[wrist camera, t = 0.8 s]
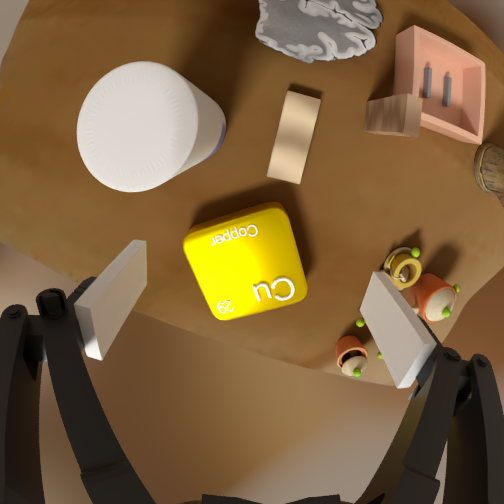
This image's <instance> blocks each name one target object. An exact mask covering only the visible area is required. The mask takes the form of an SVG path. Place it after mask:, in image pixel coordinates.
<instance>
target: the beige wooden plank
mask: <svg viewBox="0 0 504 504" xmlns="http://www.w3.org/2000/svg"><path fill="white" fill-rule="evenodd" d="M320 102H321V100H320V99H316V98H313V97H310V96H306V95H303V94H299V93H295V92H291V91H287V92H286V96H285V100H284V104H283V108H282V113H281V117H280V121H279V125H278V129H277V133H276V137H275V141H274V145H273V149H272V154H271V158H270V162H269V166H268V170H267V174H266V175H267V176H268V177H272V178H277V179H281V180H285V181H289V182H293V183H297V184H300V181H301V177H302V173H303V169H304V165H305V161H306V158H307V154H308V150H309V146H310V142H311V138H312V134H313V130H314V126H315V122H316V118H317V114H318V110H319V106H320Z"/></svg>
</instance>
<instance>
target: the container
mask: <svg viewBox="0 0 504 504" xmlns="http://www.w3.org/2000/svg"><path fill="white" fill-rule="evenodd" d="M225 133H226V120H225V116H224V113H223V111H222V109H221V108H220V106H219V105H218V104H217V103H216V102H215V101H214V100H212V99H211V98H210V97H209V96H207V95H206V94H205V93H204V92H202V91H201V90H200V89H198V88H197V87H196V86H195V85H193V84H192V83H191V82H189V81H188V80H187V79H185V78H184V77H183V76H181V75H180V74H178V73H177V72H176V71H174V70H173V69H171V68H169V67H167V66H165V65H163V64H160V63H156V62H150V61H138V62H132V63H128V64H125V65H122V66H120V67H117V68H115V69H114V70H112V71H110V72H109V73H107V74H106V75H105V76H104V77H102V78H101V79H100V80H99V81H98V82H97V83H96V84H95V85H94V87H93V88H92V89H91V91H90V92H89V94H88V95H87V97H86V99H85V101H84V103H83V105H82V108H81V111H80V114H79V118H78V125H77V141H78V147H79V151H80V154H81V157H82V159H83V161H84V163H85V165H86V167H87V168H88V170H89V171H90V172H91V173H92V174H93V176H94V177H95V178H97V179H98V180H99V181H100V182H102V183H103V184H105V185H106V186H108V187H111V188H113V189H116V190H119V191H125V192H139V191H145V190H148V189H151V188H154V187H156V186H158V185H160V184H162V183H164V182H166V181H167V180H169V179H171V178H172V177H174V176H176V175H178V174H179V173H181V172H183V171H185V170H187V169H188V168H190V167H192V166H194V165H196V164H198V163H199V162H201V161H203V160H205V159H207V158H209V157H210V156H211V155H213V154H214V153H215V152H216V151H217V150H218V148H219V147H220V145H221V144H222V142H223V140H224V137H225Z"/></svg>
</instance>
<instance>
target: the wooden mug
mask: <svg viewBox="0 0 504 504" xmlns="http://www.w3.org/2000/svg"><path fill="white" fill-rule="evenodd" d="M474 174H475V178H476V181H477V183H478V185H479V186H480V187H481V188H482V190H483V191H485V192H487V193H493V194H495V195H496V196H497V197H498V198H499V200H500V202H501V204H502V205H503V207H504V150H503V149H501V148H499V147H498V146H496V145H494V144H491V143H484V144H482V145H481V146H480V147H479V148H478V150H477V152H476V155H475V160H474Z"/></svg>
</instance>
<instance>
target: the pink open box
mask: <svg viewBox="0 0 504 504" xmlns="http://www.w3.org/2000/svg"><path fill="white" fill-rule="evenodd" d="M406 93H408V94H411V95H414V96H416V97H419V98H422V99H423V101H422V112H421V122H420V126H422V127H424V128H427V129H430V130H433V131H435V132H438V133H441V134H443V135H446V136H448V137H451V138H453V139H455V140H458V141H462V142H468V143H474V144H480V145H481V144H482V135H483V125H484V111H485V63H484V62H482V61H481V60H479V59H477V58H476V57H474V56H473V55H471V54H469V53H468V52H466V51H464V50H463V49H461V48H459V47H457V46H456V45H454V44H452V43H450V42H448V41H446V40H444V39H443V38H441V37H439V36H437V35H435V34H433V33H431V32H428V31H426V30H424V29H422V28H420V27H418V26H415V25H413V26H411V27H409V28H408V29H406V30H404V31H402V32H401V33H399V34H397V35H396V47H395V71H394V86H393V96H396V95H401V94H406Z"/></svg>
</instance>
